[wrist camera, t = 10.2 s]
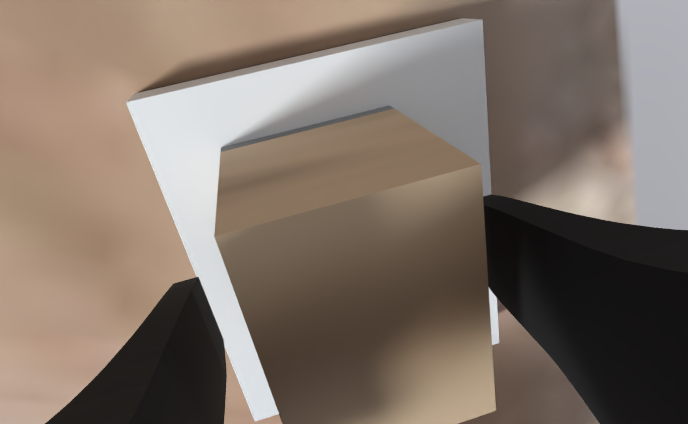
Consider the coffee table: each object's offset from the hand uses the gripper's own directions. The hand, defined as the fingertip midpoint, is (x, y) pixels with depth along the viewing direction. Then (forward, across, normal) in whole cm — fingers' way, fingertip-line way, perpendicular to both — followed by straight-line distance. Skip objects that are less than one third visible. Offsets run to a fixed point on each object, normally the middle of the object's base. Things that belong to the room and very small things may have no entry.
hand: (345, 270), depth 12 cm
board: (+3, 0, 0) cm, 3 cm away
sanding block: (+2, 0, 0) cm, 2 cm away
